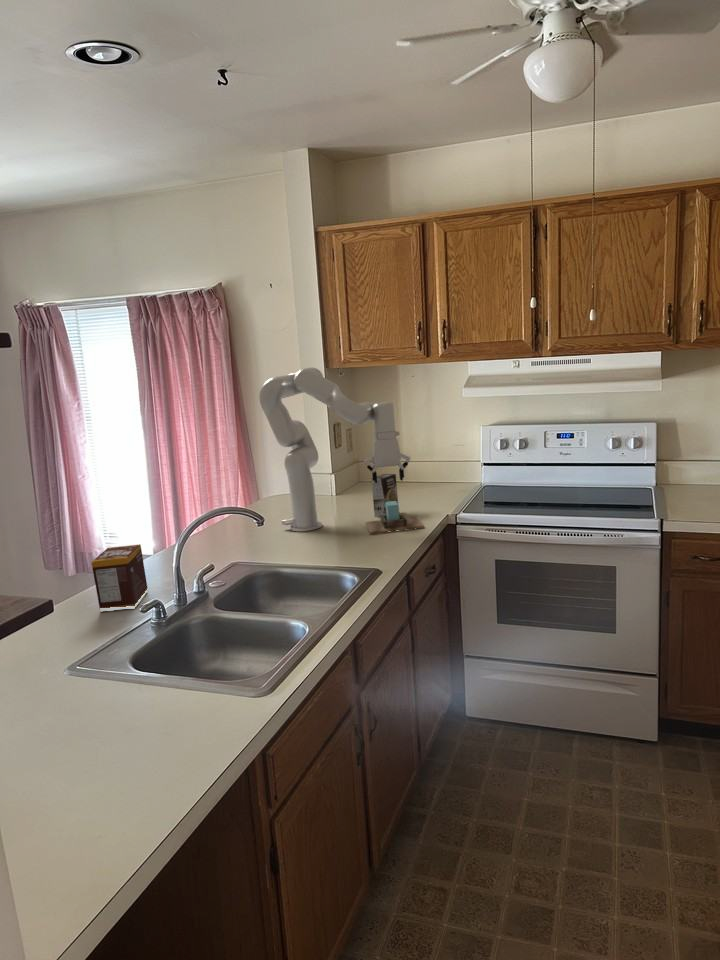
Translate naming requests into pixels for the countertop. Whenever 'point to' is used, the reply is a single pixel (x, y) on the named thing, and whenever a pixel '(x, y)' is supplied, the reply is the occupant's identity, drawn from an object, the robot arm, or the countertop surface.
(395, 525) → the keyed holder
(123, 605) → the supplement box
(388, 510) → the keyed block
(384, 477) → the coffee box
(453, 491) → the countertop surface
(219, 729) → the countertop surface
